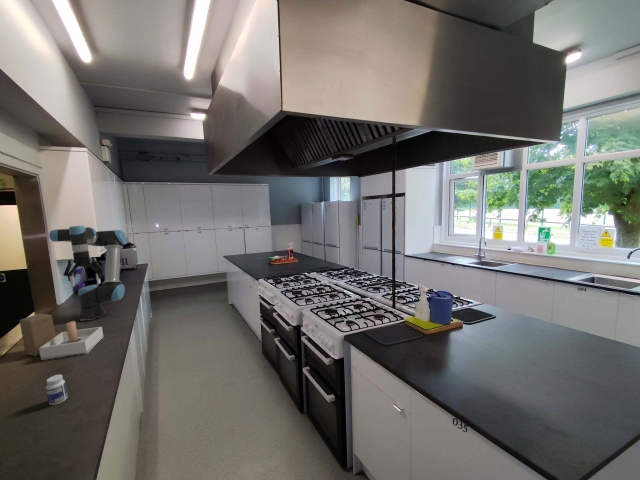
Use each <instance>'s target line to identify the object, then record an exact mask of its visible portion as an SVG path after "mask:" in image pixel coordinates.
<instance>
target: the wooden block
mask: <svg viewBox="0 0 640 480" xmlns="http://www.w3.org/2000/svg"><path fill="white" fill-rule="evenodd" d="M19 325H20V330H21V335H22V336H21V337H22V341H23V346H24V352H25V355H27V354H28V355H27V356H31V355H34V356H33V357H38V356H37V355H39V354H40V350H39V348H40V347H42V346H43V345H44V344H46V343H47V342H49V341H50V340H52V339H53V338H54V337H56V333H55V327H54V321H53V316H52V315H51V314H45V313H38V314H35V315H32V316H28V317H25V318H21V319H20V320H19ZM39 356H40V355H39Z"/></svg>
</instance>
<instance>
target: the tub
mask: <svg viewBox="0 0 640 480" xmlns="http://www.w3.org/2000/svg"><path fill="white" fill-rule="evenodd" d="M76 330H77V336H78V342H74V343H69V341H68V335H67V331H62V332H60V333H58V334H57V335H55V337H54V338H53V339H52V340H50V341H49V342H47V343H46V344H44V345H43V346H42V347H40V348H39V350H40V355H39V356H40V361H41V360H45V361H48V360H47V359H51V360H55V359H54V358H58V359H62V358H61V357H64V358H68V357H67V356H70V357H75V356H74V355H77V356H81V355H80V354H83V355H88V354H89V352H91V350H93V349H94V348H95V347H96V346H97V345H98V344H99V343H98V342H99V341H100V340H101V339H102V338H103V339H104V332H103V327H102V326H99V327H98V326H96V327H89V328H82V329H76ZM103 339H102V340H103ZM102 340H101V341H102ZM101 341H100V342H101ZM97 343H98V344H97ZM96 344H97V345H96ZM95 345H96V346H95ZM94 346H95V347H94Z"/></svg>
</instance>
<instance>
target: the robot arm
mask: <svg viewBox="0 0 640 480" xmlns="http://www.w3.org/2000/svg"><path fill="white" fill-rule="evenodd" d="M49 239H50V240H51V242H54V243H56V242H59V243H60V242H68V243H71V244H70V245H71V249H72V252H73V253H72V257H73V259H69V260H67V265H66V267H65V270H64V272H63V276H64V277H67V280H68V282H70V287H71V288H72V287H73V288H74V287H75V286H76V284H75V283H76V282H75V277H74V275H73V274H74V273H75V271H76V270H77V269H78V268H81V267H89V269H91V270H92V271H94V272H95V278H96V284H89V285H87V286H84V287H81V288H80V289H78V291H77V293H78V301H79V306H80V312H79V315H78V320H79V319H94V318H99V317H102V316H104V315H105V314H106V310H105V309H104V307H103V305H102V303H110V302H117V301H120V300H122V299H123V298H124V295H125V292H126V291H125V290H126V288H125V285H124V284H123V282H122V281H120V268H121V267H120V266H121V250H122V249H123V248H124V245H126V244H127V237H126V234H125V232H124V231H123V230H121V229H120V230H119V229H113V230H100V231H99V230H98V231H96V228H93V227H88V226H87V227H85V225H74V226H72V225H71V226H69V228H62V229H61V228H60V229H58V228H57V229H52V230H50V232H49ZM89 246H93V247H103V248H104V249H105V250H106V255H105V269H104V268H103V267H102V266H101V265H100V263H99V262H98V259H97V257H92V258H91V257H90V251H89ZM91 262H92V263H93V264H92V263H91ZM73 264H74V265H73ZM72 265H73V267H72ZM103 272H104V273H105V274H104V281H103V282H102V283H101V279H102V273H103ZM100 284H101V286H99V285H100ZM105 316H106V315H105ZM105 316H104V317H105ZM102 318H103V317H102ZM99 319H100V318H99Z"/></svg>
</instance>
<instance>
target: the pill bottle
mask: <svg viewBox="0 0 640 480" xmlns="http://www.w3.org/2000/svg"><path fill="white" fill-rule="evenodd" d="M63 378H64V377H63V374H55V375H52V376H50V377H48V378H47V379H46V384H47V385H46V387H45V390H46V395H47V400H48V404H49V405H50V406H55V405H58V404H61V403H64V402H65V400H67V399H68V390H67V384H66V381H65V379H63Z"/></svg>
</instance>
